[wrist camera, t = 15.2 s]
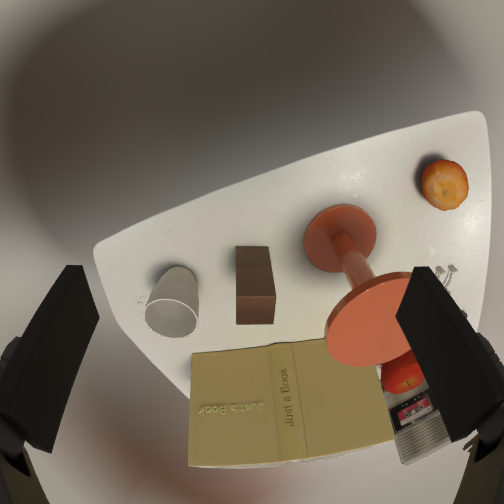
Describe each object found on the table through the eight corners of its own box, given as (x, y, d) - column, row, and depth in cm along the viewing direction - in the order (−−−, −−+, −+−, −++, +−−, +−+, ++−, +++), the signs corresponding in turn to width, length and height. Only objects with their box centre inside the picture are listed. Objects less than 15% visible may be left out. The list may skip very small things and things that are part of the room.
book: (365, 329, 60) (397, 437, 42) (360, 348, 65) (385, 447, 47) (191, 350, 61) (186, 464, 43) (200, 367, 66) (197, 471, 48)
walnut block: (236, 246, 49) (236, 296, 38) (268, 246, 49) (276, 296, 39) (236, 272, 51) (236, 324, 41) (266, 272, 51) (273, 324, 41)
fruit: (465, 191, 43) (471, 216, 38) (424, 193, 47) (423, 217, 42) (462, 147, 39) (469, 167, 34) (418, 149, 43) (418, 169, 38)
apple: (399, 325, 61) (420, 367, 51) (421, 340, 65) (440, 378, 54) (363, 355, 65) (377, 397, 55) (387, 367, 69) (401, 405, 59)
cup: (165, 299, 54) (154, 340, 45) (149, 262, 50) (134, 302, 41) (208, 293, 53) (204, 336, 45) (196, 254, 49) (188, 295, 41)
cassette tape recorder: (419, 356, 68) (454, 435, 47) (424, 364, 71) (457, 439, 50) (374, 382, 73) (400, 463, 51) (382, 389, 75) (406, 465, 54)
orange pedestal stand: (302, 195, 44) (341, 279, 28) (387, 200, 45) (456, 276, 28) (293, 274, 52) (315, 371, 35) (369, 273, 53) (413, 360, 36)
